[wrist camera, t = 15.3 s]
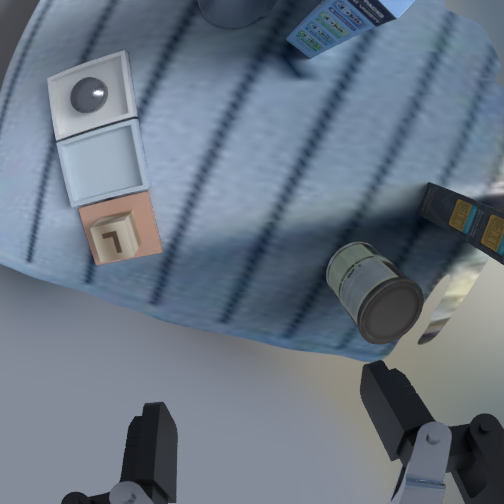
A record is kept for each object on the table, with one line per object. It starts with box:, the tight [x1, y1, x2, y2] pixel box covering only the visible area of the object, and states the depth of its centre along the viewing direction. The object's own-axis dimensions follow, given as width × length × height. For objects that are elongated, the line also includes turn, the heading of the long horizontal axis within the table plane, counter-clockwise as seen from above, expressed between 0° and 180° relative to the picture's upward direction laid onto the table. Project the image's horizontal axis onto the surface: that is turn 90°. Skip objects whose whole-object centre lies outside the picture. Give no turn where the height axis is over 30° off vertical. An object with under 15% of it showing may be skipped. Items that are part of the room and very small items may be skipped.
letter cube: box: [90, 210, 141, 263], centre depth 41 cm, size 5×5×5 cm
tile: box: [79, 190, 163, 265], centre depth 43 cm, size 11×9×1 cm
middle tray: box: [57, 119, 151, 207], centre depth 39 cm, size 12×10×2 cm
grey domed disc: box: [70, 77, 108, 113], centre depth 34 cm, size 5×5×2 cm
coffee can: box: [326, 242, 424, 344], centre depth 45 cm, size 10×10×14 cm
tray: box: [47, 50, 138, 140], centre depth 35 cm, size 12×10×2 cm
